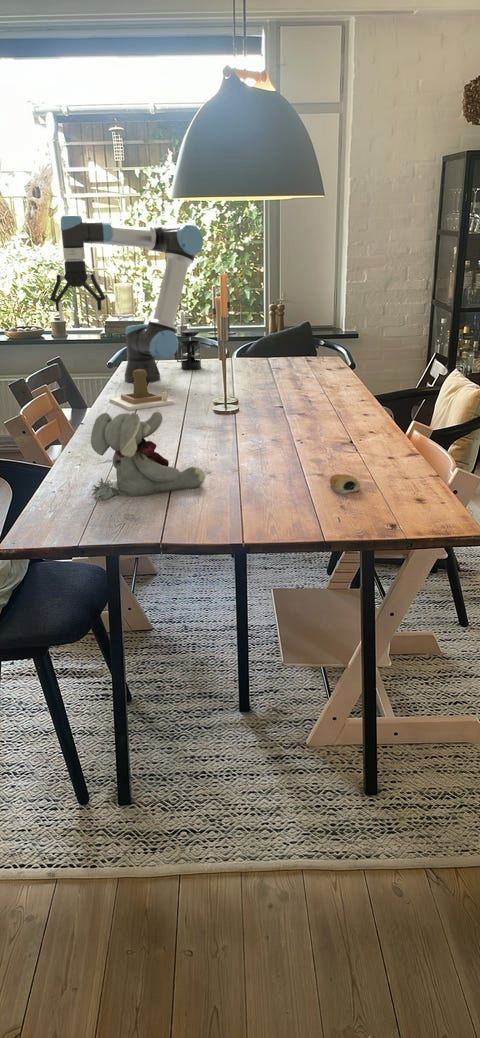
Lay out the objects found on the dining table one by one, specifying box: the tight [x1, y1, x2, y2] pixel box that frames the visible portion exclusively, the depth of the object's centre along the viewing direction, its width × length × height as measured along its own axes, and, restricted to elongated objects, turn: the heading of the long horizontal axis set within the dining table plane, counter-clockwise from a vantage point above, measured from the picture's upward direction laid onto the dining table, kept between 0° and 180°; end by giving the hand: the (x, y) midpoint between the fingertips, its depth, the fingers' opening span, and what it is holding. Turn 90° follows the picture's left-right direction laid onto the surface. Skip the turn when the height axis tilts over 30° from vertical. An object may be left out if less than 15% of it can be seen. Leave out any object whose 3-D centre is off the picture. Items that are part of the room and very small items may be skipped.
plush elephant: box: [90, 411, 206, 502], centre depth 187 cm, size 27×22×21 cm
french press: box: [176, 316, 202, 371], centre depth 350 cm, size 12×9×23 cm
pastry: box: [329, 473, 362, 495], centre depth 188 cm, size 9×7×4 cm
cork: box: [133, 369, 149, 399], centre depth 283 cm, size 6×6×11 cm
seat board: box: [108, 390, 175, 411], centre depth 284 cm, size 18×18×4 cm
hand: (79, 320), depth 289 cm, fingers open, 13 cm apart
